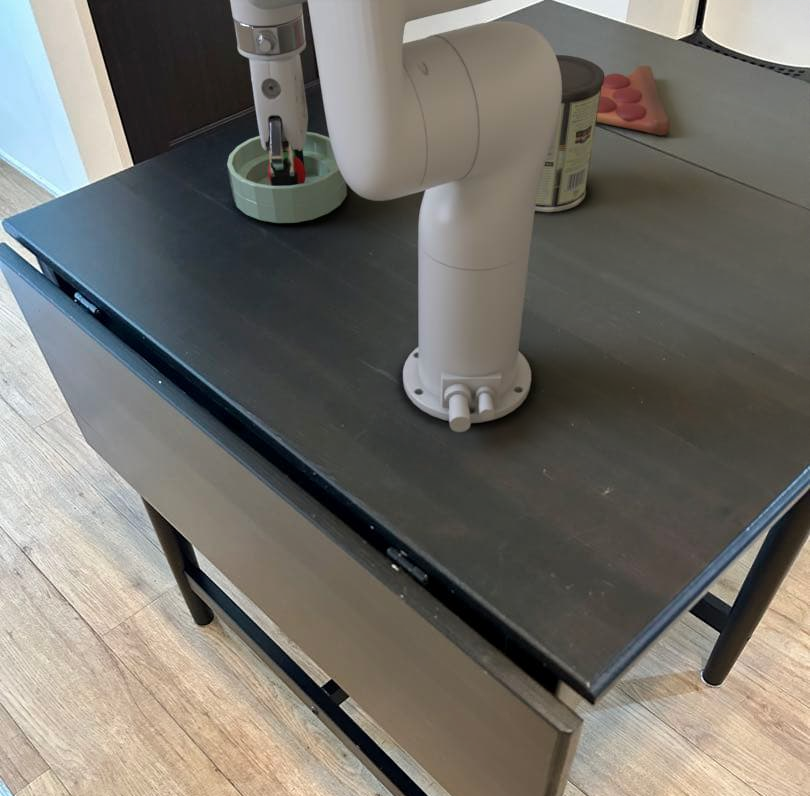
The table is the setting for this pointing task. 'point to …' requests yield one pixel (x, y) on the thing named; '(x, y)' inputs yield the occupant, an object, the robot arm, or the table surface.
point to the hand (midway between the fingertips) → (290, 187)
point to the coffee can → (571, 136)
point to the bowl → (286, 202)
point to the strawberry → (295, 168)
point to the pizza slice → (633, 102)
